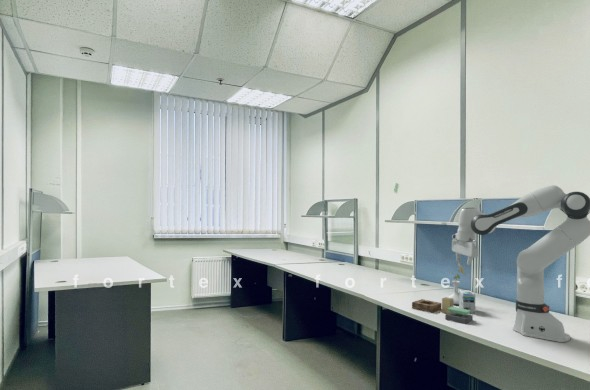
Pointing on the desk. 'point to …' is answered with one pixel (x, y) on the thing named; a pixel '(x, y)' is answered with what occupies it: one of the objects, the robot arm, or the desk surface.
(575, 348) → the desk surface
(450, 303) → the block
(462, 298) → the light bulb box
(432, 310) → the brown square frame
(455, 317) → the block
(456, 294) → the flower in vase
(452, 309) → the button
